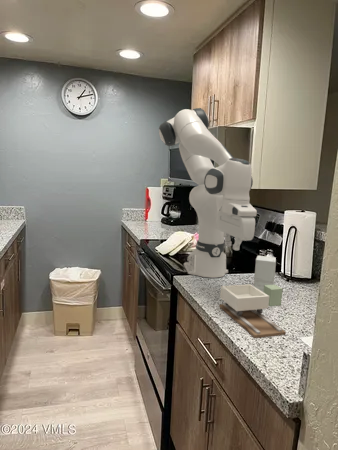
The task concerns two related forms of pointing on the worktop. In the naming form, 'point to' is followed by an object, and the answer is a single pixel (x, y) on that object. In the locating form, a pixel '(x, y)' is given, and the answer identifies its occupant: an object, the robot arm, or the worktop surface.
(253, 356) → the worktop surface
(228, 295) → the square white tray
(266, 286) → the block
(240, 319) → the track
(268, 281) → the supplement box
